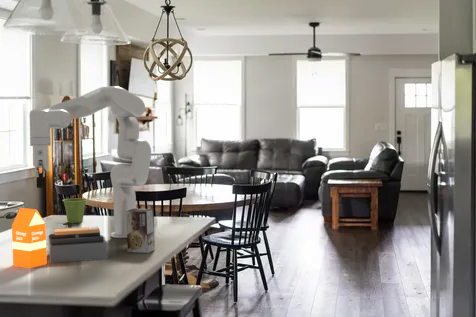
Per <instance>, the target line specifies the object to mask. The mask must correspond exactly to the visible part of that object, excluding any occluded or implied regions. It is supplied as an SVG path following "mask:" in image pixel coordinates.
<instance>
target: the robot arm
mask: <svg viewBox="0 0 476 317" xmlns="http://www.w3.org/2000/svg"><path fill="white" fill-rule="evenodd" d="M106 108H110V111H111V113H112V114H113V115H114V116H113V117H115V119H116V120H117V122H118V124H119V134H118V142H117V149H116V152H117V153H116V154H117V158H119V159H121V160H123V161H130V162H131V163H125V162H123V163H118V164H115V165H114V166H113V167H112V168H111V170H110V180H111V186H112V193H113V194H112V196H113V227H114V229H113V230H114V231H113V232H111V233H110V237H112V238H115V239H116V238H117V239H127V222H126V211H128V210H131V209H137V203H136V202H137V201H136V199H137V197H136V191H135V189H134V187H141V186H144V185H145V184H146V182H147V181H148V178H149V174H150V165H151V158H152V148H151V146H150V145H151V144H150V143H149V142H148V141H147V140H145V139H143V138H140V125H139V124H140V123H139V122H138V119H137V118H140V117H141V116H142V115H143V114H144V113H145V110H146V105H145V102H144V100H143V99H142V98H141V97H139V96H138V95H136V94H134V93H133V92H130V91H128V90H127V89H125V88H123V87H120V86H118V85H117V86H116V85H109V86H102V87H99V88H96V89H94V90H92V91H89V92H87V93H85V94H82V95H80V96H77V97H75V98H71V99H68V100H66V101H62V102H58V103H56V104H54V105H51V106H48V107H46V108H43V109H32V110H30V111H29V146H31V147H33V161H34V162H33V163H34V164H33V165H34V171H35V172H36V188H37V189H41V188H42V189H45V188H46V186H47V176H46V175H47V174H46V172H49V171H50V170H49V169H50V168H49V167H50V166H49V165H50V164H49V163H50V162H49V161H50V160H49V146H51V145H52V144H51V141H52V139H51V129H60V130H61V129H65V128H67V127H69V126H70V124H71V122H72V119H74V120H75V119H81V118H85V117H89V116H91V115H93V114H96V113H97V112H100V111H101V110H103V109H106Z"/></svg>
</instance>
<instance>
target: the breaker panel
mask: <svg viewBox="0 0 476 317" xmlns="http://www.w3.org/2000/svg"><path fill="white" fill-rule="evenodd" d="M100 236H103V235H102V234H100ZM75 237H76V238H83V237H79V234H75ZM94 237H98V236H94ZM103 238H104V242H91V243H76V244H62V245H51V244H50V241H51V240H54V239H49V238H48V256H49V261H50V263H52V264H53V263H54V264H55V263H67V262H78V261H91V260H95V261H96V260H105V259H106V260H107V259H108V243H107V241H106V238H105V236H103ZM64 239H69V238H64Z"/></svg>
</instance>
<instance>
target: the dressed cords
mask: <svg viewBox="0 0 476 317" xmlns="http://www.w3.org/2000/svg"><path fill="white" fill-rule="evenodd" d="M100 235H101V231H100V232H97V233H82V234H79V237H83V238H76V237H75V234H67V235H55V233H50V234H49V235H48V240H49V239H54V240H51V241H50V244H51V245H62V244H76V243H91V242H104V238H105V237H104V236H103V235H102V236H100ZM94 236H98V237H94ZM103 237H104V238H103ZM64 238H69V239H64Z"/></svg>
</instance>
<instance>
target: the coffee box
mask: <svg viewBox="0 0 476 317" xmlns="http://www.w3.org/2000/svg"><path fill="white" fill-rule="evenodd" d="M154 211H155V210H154V208H136V209H131V210H128V211H126V222H127V238H126V246H127V247H126V248H127V251H126V252H127V253H143V254H144V253H145V254H146V253H147V254H149V253H151V252H153V251H155V250H156V247H155V246H156V245H155V216H154V214H155V212H154Z"/></svg>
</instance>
